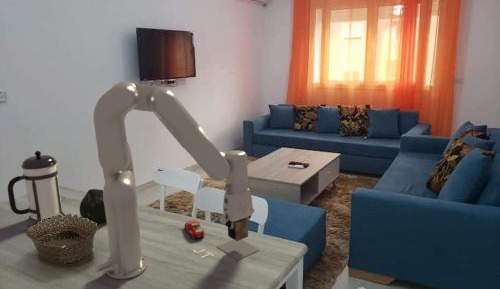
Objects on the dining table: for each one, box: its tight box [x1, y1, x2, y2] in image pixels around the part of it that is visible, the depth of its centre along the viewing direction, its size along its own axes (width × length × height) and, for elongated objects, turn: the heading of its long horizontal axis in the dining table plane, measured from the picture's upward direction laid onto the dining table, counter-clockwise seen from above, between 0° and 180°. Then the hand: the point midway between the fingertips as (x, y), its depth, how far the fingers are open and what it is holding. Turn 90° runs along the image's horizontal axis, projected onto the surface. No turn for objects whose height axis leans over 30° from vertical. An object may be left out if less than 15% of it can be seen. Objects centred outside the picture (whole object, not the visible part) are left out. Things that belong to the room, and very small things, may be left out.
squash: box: [79, 188, 107, 225], centre depth 155 cm, size 14×15×15 cm
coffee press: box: [7, 150, 66, 224], centre depth 153 cm, size 17×16×30 cm
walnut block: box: [230, 218, 249, 241], centre depth 129 cm, size 5×5×7 cm
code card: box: [192, 248, 215, 259], centre depth 129 cm, size 9×12×1 cm
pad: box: [216, 239, 260, 261], centre depth 131 cm, size 10×12×1 cm
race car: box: [184, 220, 205, 240], centre depth 143 cm, size 13×5×4 cm, turn 24°
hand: (238, 234), depth 130 cm, fingers closed on walnut block, 5 cm apart
